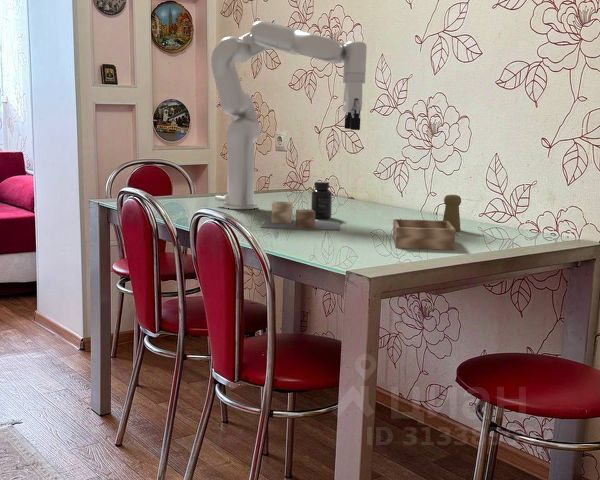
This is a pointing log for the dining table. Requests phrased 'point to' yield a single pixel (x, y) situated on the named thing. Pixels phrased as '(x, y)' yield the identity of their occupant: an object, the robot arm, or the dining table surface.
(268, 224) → the mat
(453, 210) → the cork
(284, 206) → the maple block
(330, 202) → the supplement bottle
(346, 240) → the dining table surface
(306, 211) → the walnut block
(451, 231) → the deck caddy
